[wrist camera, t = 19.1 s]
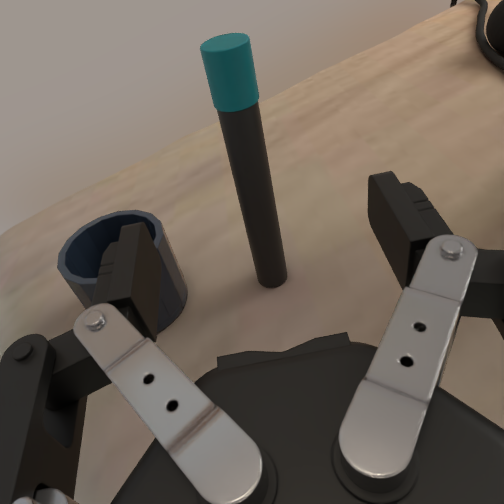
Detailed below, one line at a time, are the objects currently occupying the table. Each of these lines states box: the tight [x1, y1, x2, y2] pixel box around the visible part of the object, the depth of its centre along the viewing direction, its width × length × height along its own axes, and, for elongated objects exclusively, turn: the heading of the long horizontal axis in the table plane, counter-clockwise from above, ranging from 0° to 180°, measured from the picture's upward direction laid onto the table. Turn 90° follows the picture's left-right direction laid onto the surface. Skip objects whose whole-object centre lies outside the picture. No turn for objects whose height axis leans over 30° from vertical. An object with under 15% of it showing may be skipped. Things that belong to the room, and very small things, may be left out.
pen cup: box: [57, 210, 187, 333], centre depth 30 cm, size 7×7×6 cm
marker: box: [200, 33, 287, 288], centre depth 26 cm, size 2×2×16 cm
